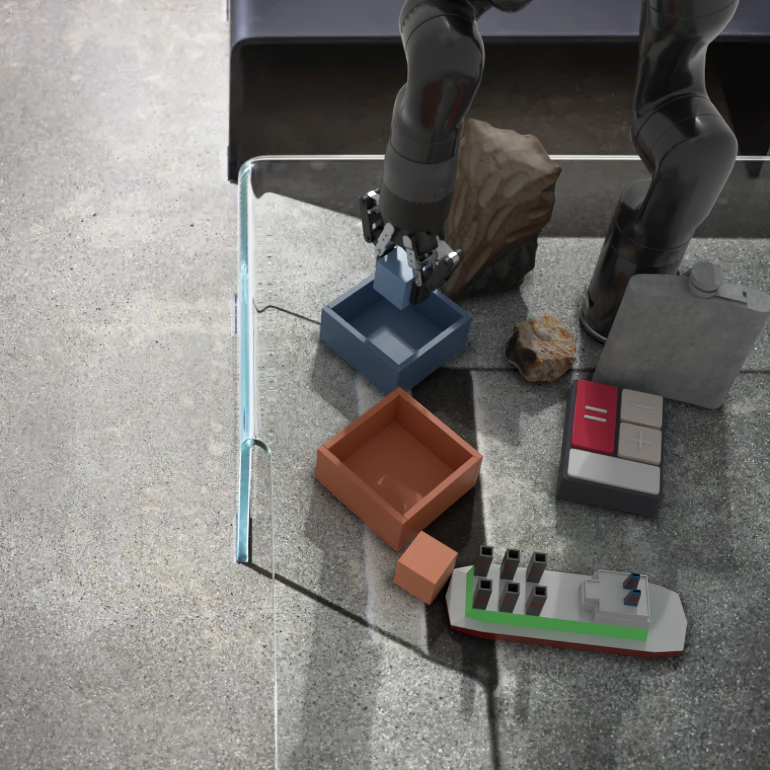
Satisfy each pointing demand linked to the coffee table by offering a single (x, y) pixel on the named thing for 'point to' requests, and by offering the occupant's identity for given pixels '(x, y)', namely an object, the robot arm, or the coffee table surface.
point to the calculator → (612, 448)
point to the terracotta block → (425, 567)
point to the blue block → (394, 278)
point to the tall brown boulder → (497, 209)
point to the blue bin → (393, 335)
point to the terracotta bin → (397, 467)
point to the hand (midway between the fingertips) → (400, 287)
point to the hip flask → (682, 335)
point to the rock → (541, 348)
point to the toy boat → (565, 607)
